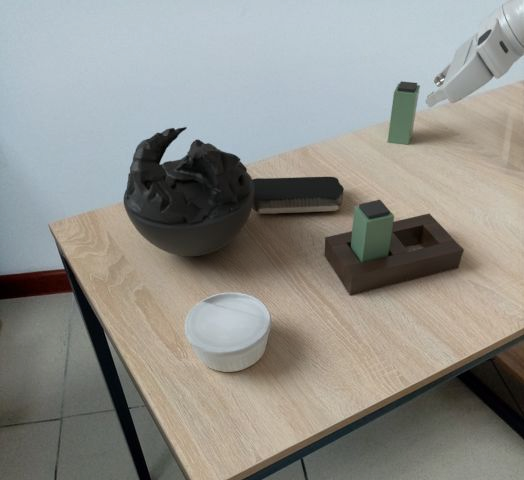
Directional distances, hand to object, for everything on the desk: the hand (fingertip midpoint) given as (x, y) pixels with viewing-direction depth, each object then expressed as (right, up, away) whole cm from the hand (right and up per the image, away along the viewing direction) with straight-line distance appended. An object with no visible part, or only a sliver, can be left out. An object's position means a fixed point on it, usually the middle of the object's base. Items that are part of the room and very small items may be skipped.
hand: (432, 92), depth 101 cm
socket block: (-13, -35, -19) cm, 42 cm away
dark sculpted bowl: (-43, -32, -13) cm, 55 cm away
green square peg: (-16, -36, -19) cm, 44 cm away
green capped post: (-4, -6, +8) cm, 11 cm away
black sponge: (-27, -23, -6) cm, 36 cm away
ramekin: (-37, -49, -29) cm, 68 cm away
